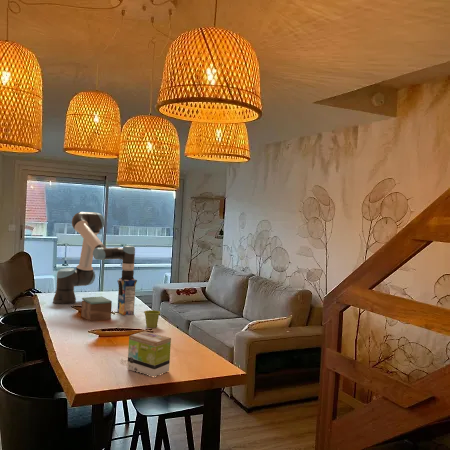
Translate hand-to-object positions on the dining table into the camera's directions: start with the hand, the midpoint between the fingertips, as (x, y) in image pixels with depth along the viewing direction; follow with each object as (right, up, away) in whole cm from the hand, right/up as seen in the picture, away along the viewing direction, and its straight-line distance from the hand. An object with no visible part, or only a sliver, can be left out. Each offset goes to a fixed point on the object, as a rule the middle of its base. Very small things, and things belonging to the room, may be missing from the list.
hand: (125, 305), depth 293 cm
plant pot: (+22, -7, -31) cm, 39 cm away
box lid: (-14, +6, -17) cm, 23 cm away
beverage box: (0, -5, 0) cm, 5 cm away
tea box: (+32, -8, -105) cm, 111 cm away
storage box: (-15, -4, -17) cm, 23 cm away
